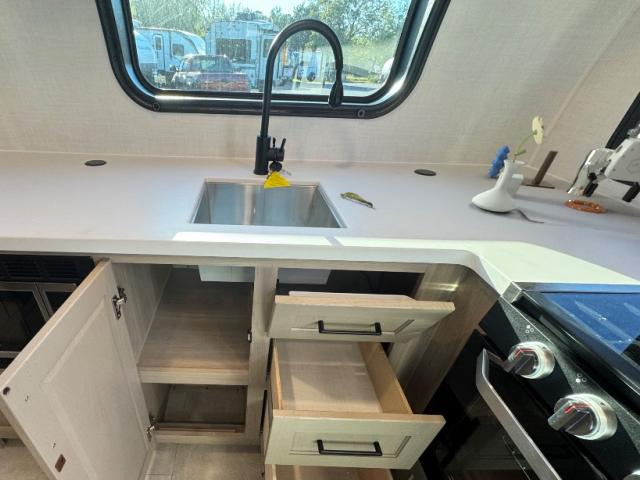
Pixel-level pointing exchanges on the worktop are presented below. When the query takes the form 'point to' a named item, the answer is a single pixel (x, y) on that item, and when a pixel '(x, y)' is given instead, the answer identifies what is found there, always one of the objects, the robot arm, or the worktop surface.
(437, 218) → the worktop surface
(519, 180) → the product carton
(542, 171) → the stand
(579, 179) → the beer glass
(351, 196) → the green bird figurine
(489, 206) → the flower in vase
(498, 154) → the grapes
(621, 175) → the robot arm
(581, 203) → the ring
